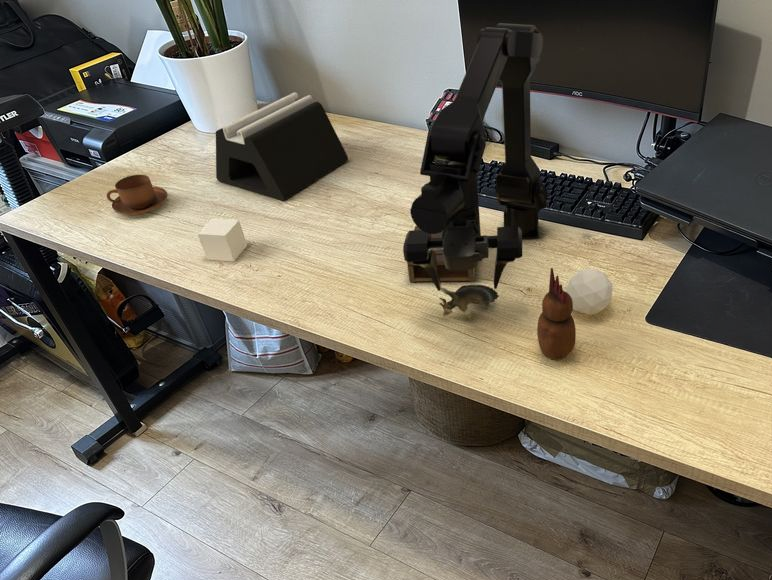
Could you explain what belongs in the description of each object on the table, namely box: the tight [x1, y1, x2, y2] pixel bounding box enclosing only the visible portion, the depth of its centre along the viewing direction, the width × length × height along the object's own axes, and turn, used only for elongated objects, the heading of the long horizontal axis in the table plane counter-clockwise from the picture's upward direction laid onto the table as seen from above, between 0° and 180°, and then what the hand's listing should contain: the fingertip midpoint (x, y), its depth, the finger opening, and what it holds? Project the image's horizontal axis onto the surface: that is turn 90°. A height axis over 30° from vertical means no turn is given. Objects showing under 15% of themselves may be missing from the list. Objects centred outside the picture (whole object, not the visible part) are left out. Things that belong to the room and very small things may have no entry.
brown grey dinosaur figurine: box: [438, 284, 500, 321], centre depth 111 cm, size 8×7×9 cm
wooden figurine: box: [536, 267, 577, 361], centre depth 100 cm, size 7×6×15 cm
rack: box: [406, 225, 476, 284], centre depth 124 cm, size 12×13×4 cm
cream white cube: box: [197, 217, 248, 262], centre depth 131 cm, size 6×6×6 cm
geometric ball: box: [565, 268, 613, 315], centre depth 110 cm, size 8×8×8 cm
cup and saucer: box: [106, 174, 168, 216], centre depth 148 cm, size 12×12×6 cm
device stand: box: [215, 92, 349, 202], centre depth 155 cm, size 22×22×15 cm
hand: (467, 288), depth 109 cm, fingers open, 9 cm apart
